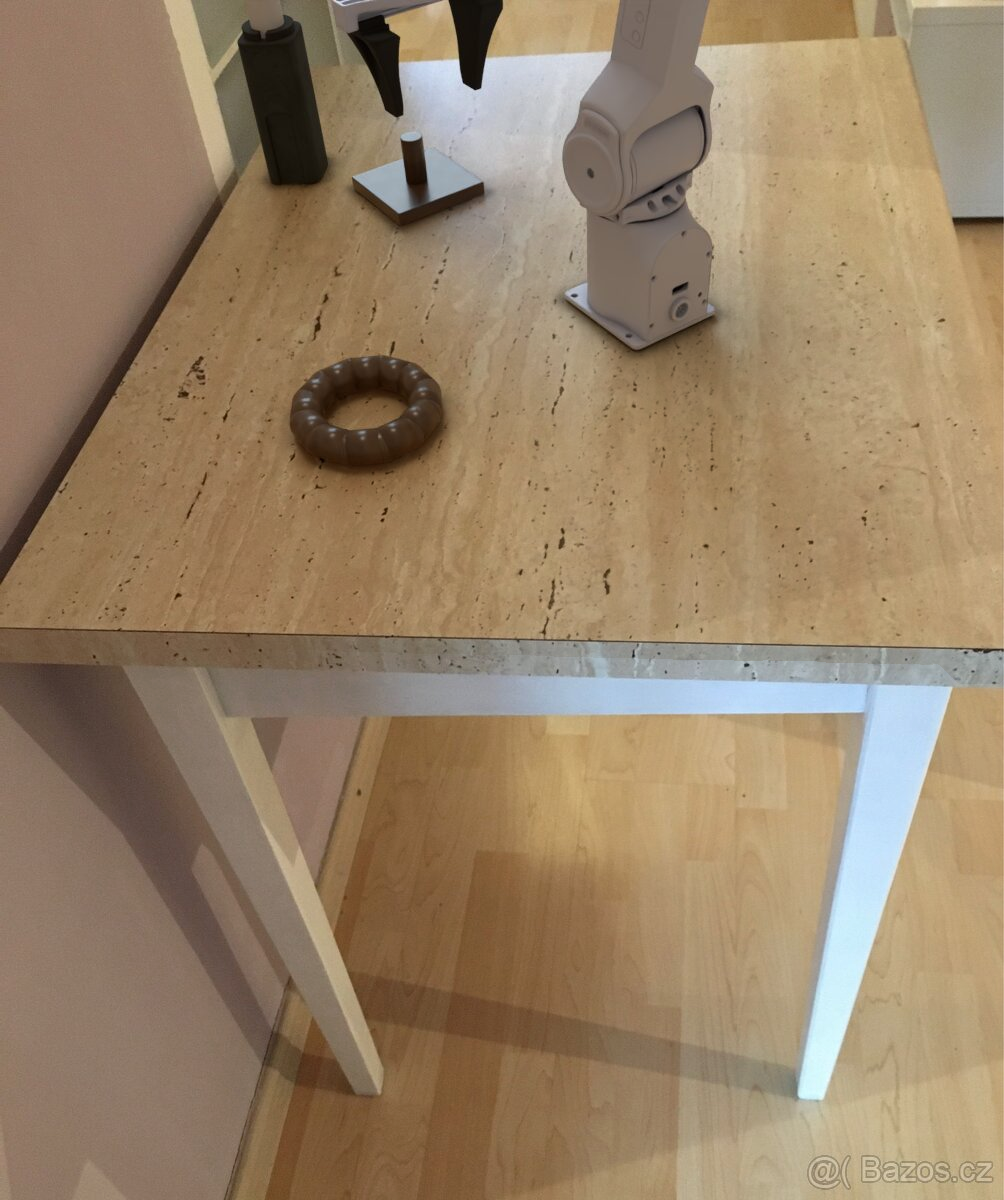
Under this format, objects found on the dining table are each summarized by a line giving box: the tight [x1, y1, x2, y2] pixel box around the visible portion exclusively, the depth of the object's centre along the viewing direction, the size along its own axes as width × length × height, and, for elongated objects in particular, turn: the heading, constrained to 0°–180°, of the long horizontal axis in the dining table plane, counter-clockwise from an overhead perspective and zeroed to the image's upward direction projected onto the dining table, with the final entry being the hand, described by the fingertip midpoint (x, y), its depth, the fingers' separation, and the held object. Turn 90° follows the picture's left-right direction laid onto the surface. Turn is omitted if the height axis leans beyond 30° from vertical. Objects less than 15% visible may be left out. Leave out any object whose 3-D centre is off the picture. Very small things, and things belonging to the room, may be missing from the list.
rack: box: [351, 130, 485, 227], centre depth 96 cm, size 9×9×5 cm
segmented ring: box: [289, 354, 443, 467], centre depth 75 cm, size 11×11×2 cm
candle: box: [236, 0, 329, 185], centre depth 93 cm, size 5×5×25 cm
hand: (433, 99), depth 89 cm, fingers open, 7 cm apart
